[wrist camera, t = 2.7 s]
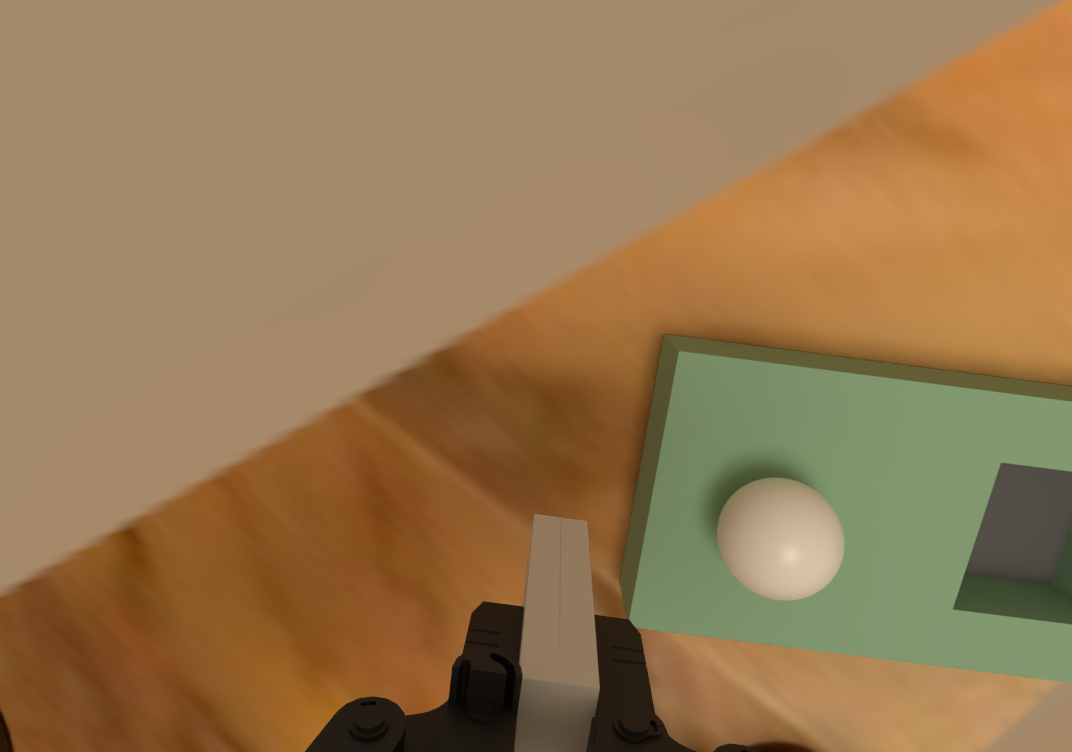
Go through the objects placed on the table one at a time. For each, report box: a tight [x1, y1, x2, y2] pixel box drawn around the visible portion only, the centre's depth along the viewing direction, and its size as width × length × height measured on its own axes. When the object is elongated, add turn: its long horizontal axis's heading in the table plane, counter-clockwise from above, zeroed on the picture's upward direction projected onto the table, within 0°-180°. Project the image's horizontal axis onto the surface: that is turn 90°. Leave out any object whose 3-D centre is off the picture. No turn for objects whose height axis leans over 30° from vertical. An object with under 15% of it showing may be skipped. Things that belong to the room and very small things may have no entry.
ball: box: [717, 477, 845, 601], centre depth 22 cm, size 4×4×4 cm
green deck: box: [620, 334, 1072, 683], centre depth 25 cm, size 20×11×3 cm, turn 83°
